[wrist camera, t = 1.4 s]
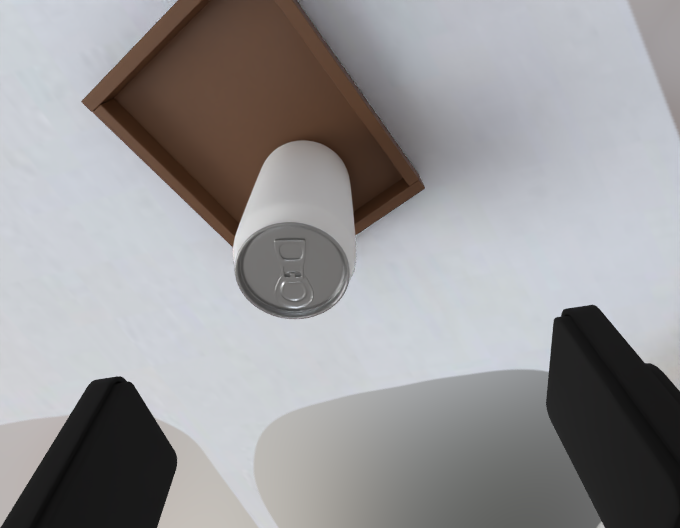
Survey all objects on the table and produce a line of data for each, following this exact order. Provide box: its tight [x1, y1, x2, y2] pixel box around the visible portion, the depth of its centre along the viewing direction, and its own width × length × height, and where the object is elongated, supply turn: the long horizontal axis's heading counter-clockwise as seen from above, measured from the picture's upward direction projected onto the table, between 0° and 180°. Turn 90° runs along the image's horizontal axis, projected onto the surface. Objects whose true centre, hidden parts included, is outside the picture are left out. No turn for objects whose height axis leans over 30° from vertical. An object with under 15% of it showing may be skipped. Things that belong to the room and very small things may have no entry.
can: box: [233, 140, 356, 319], centre depth 27 cm, size 6×6×12 cm
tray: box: [81, 0, 425, 247], centre depth 29 cm, size 18×14×2 cm
